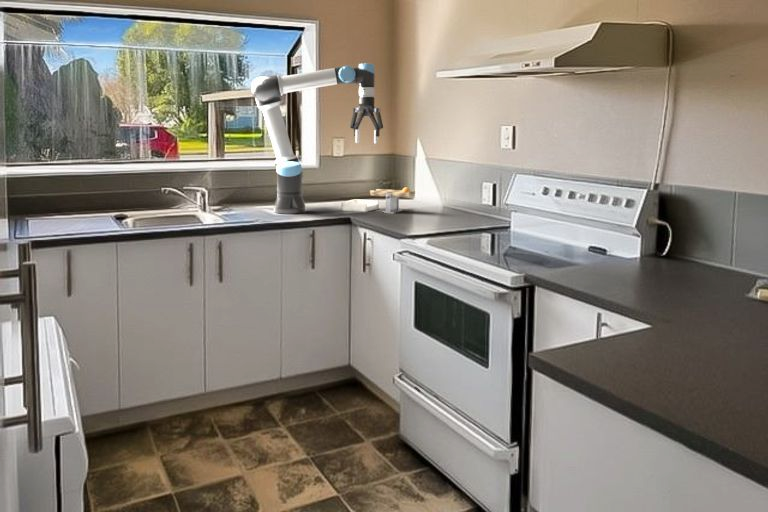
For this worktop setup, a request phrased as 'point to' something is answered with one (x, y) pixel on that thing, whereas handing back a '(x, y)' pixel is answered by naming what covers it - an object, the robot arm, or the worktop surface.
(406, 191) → the ball
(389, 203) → the stand
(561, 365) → the worktop surface
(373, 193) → the lever
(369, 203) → the dish
